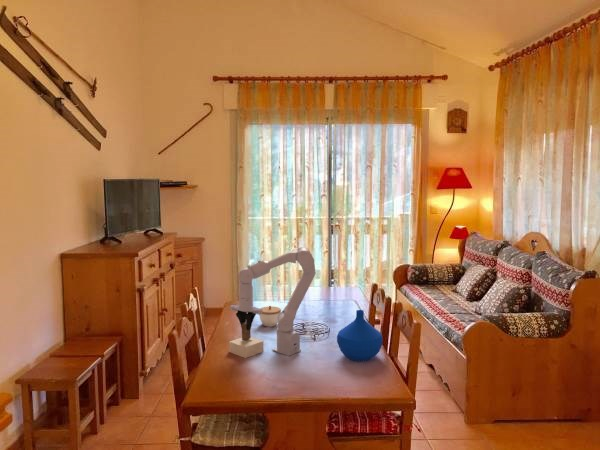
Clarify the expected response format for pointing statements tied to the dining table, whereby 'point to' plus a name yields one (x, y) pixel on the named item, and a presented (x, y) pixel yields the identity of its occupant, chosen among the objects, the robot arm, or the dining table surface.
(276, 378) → the dining table surface
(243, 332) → the brown rectangular block
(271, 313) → the lidded jar
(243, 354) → the cream square hole block
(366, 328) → the vase
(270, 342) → the dining table surface
